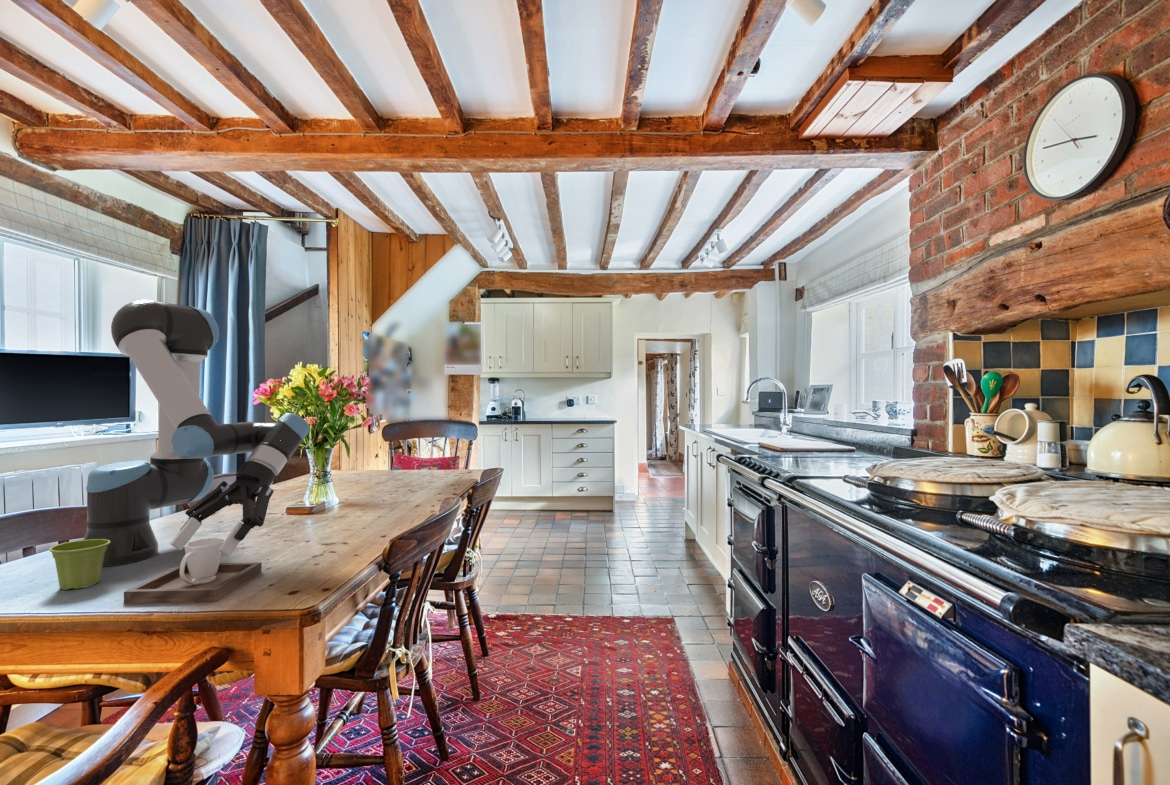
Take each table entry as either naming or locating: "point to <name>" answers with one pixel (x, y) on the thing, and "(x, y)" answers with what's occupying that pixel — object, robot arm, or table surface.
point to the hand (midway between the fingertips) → (199, 550)
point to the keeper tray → (176, 590)
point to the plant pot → (79, 562)
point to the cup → (201, 560)
